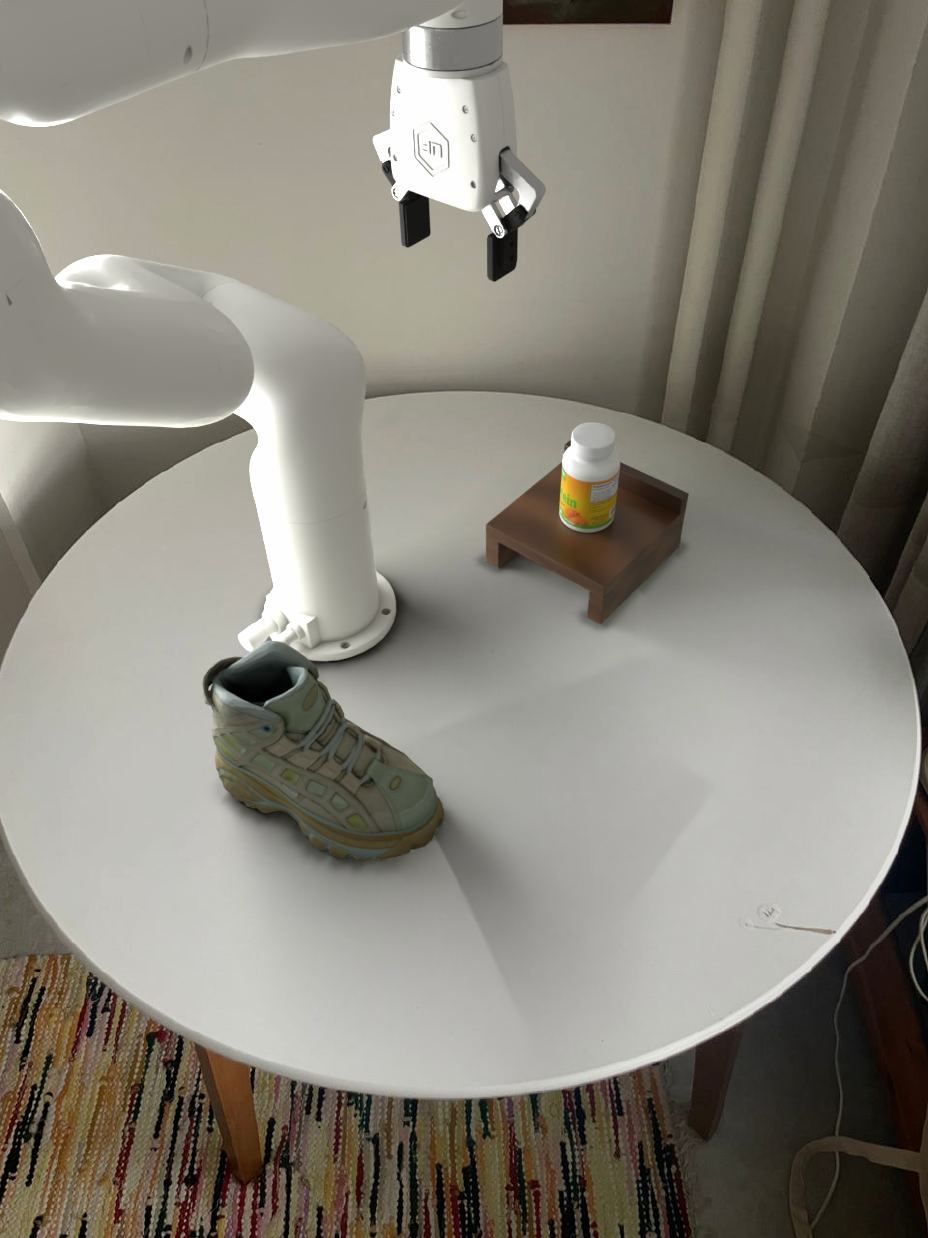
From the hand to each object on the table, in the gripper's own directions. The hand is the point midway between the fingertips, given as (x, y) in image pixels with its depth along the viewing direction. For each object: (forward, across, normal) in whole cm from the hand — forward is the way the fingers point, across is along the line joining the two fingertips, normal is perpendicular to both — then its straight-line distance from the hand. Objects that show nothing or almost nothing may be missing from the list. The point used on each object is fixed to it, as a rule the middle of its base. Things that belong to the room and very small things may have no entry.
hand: (458, 257), depth 89 cm
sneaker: (+28, +15, -35) cm, 47 cm away
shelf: (+28, +14, +2) cm, 32 cm away
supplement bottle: (+24, +14, +2) cm, 27 cm away
